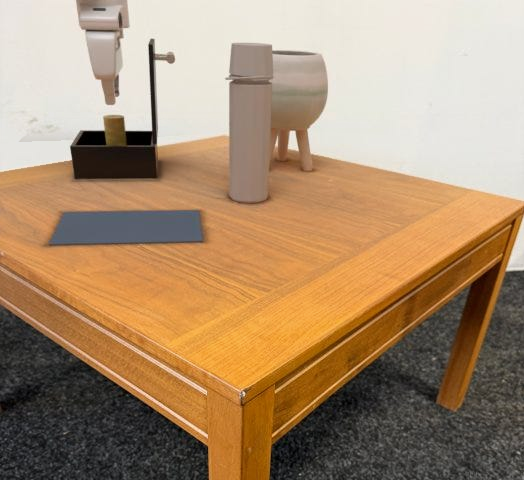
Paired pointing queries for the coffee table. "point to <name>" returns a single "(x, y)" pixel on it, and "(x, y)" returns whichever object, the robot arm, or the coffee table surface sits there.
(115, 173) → the box
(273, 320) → the coffee table surface
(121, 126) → the yellow cylinder
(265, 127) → the water bottle
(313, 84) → the planter
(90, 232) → the mat
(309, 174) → the coffee table surface
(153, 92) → the black box lid
